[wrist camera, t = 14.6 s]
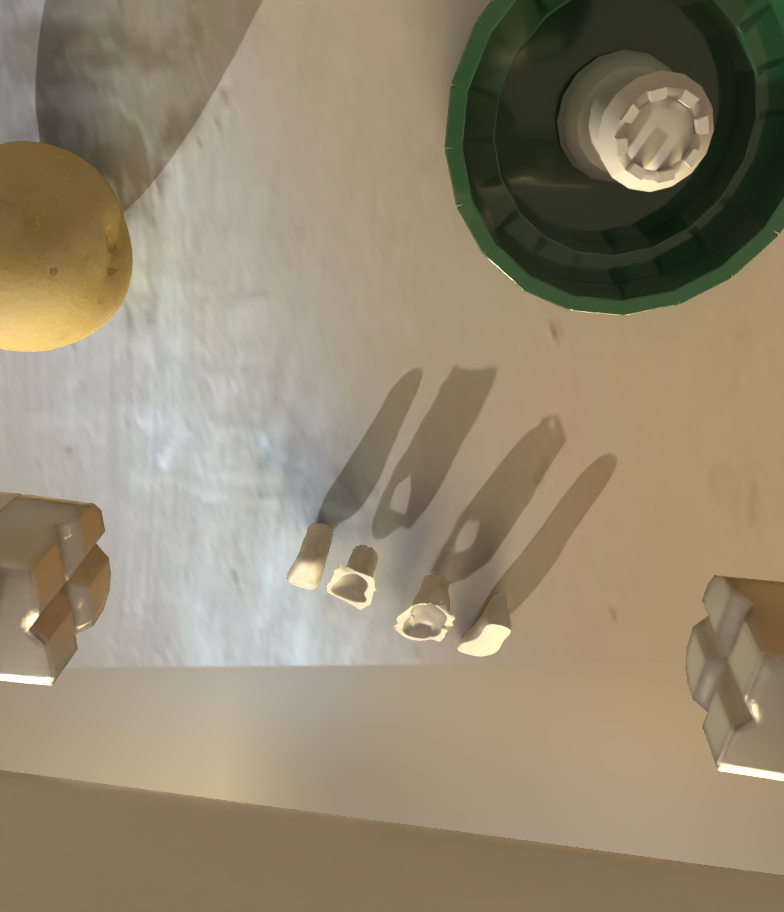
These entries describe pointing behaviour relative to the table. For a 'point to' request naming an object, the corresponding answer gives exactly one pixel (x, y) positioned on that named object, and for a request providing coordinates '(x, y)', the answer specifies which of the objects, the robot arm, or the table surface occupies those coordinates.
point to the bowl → (612, 204)
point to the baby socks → (428, 606)
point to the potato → (57, 248)
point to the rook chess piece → (634, 122)
